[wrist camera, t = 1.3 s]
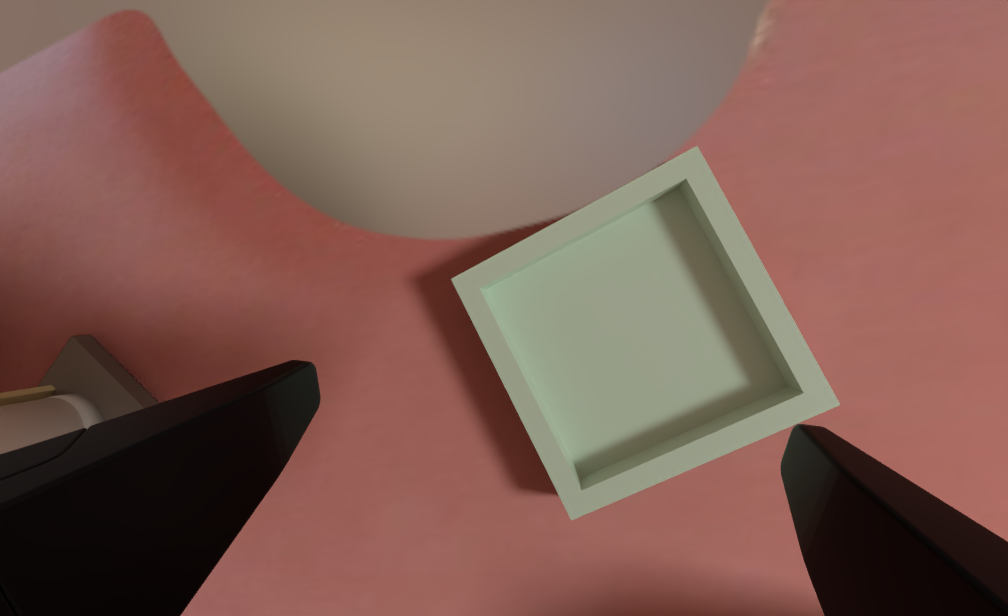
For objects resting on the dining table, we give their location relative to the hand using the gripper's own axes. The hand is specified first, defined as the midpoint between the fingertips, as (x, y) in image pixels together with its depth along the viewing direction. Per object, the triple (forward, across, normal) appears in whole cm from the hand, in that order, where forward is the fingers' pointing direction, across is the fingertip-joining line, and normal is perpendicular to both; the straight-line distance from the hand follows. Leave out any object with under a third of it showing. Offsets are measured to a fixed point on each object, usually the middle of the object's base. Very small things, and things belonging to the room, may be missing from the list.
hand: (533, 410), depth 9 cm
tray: (+14, -3, +5) cm, 15 cm away
